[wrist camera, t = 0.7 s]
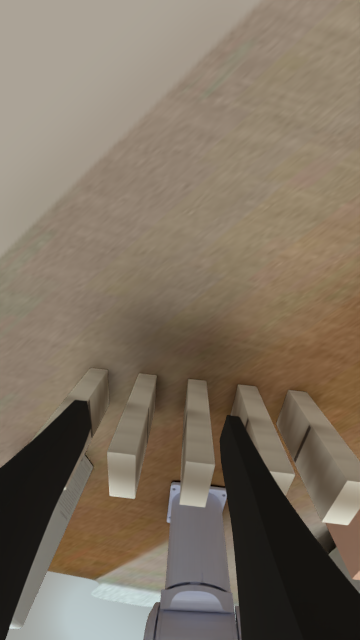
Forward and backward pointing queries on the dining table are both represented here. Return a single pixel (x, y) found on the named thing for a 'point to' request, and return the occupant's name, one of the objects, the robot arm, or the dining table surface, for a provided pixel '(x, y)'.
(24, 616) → the small box
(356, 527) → the head domino
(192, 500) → the domino
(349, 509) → the domino
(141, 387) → the domino
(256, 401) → the domino
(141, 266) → the dining table surface
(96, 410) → the domino
